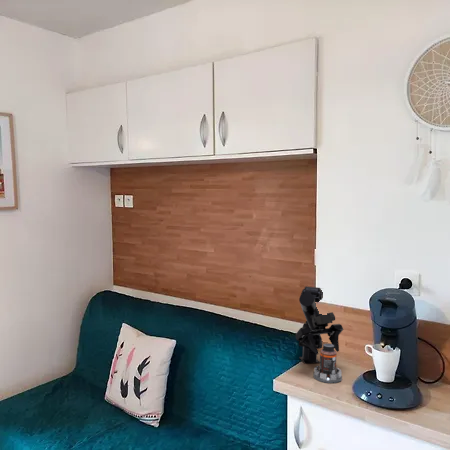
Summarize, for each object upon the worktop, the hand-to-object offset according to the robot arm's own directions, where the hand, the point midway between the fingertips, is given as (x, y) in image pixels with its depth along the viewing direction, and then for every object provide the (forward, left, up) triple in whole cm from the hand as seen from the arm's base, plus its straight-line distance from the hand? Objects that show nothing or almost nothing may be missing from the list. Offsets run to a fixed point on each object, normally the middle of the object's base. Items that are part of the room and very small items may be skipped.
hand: (327, 352), depth 169 cm
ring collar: (+1, 0, -9) cm, 9 cm away
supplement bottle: (+1, 0, -8) cm, 8 cm away
